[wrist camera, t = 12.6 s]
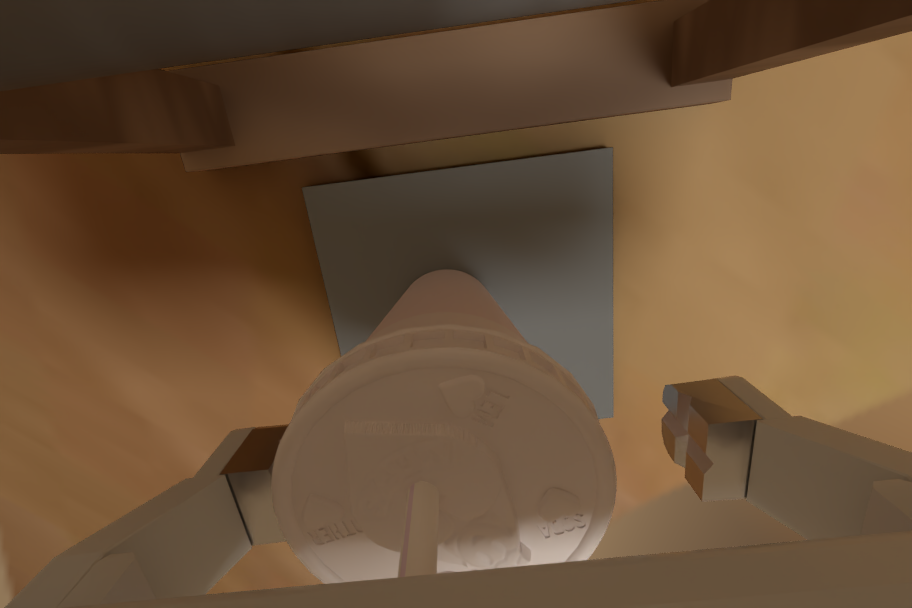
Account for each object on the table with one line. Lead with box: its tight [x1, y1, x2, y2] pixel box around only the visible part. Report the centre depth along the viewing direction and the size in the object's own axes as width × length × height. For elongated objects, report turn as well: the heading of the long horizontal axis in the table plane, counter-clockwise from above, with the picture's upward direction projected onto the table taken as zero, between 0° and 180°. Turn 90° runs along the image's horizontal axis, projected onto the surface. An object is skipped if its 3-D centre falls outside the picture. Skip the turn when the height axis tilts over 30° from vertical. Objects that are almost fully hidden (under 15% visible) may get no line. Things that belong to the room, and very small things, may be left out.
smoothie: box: [271, 269, 616, 584], centre depth 10 cm, size 6×6×14 cm
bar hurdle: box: [0, 0, 912, 172], centre depth 9 cm, size 3×18×12 cm, turn 97°
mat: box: [302, 147, 613, 419], centre depth 17 cm, size 11×11×1 cm
